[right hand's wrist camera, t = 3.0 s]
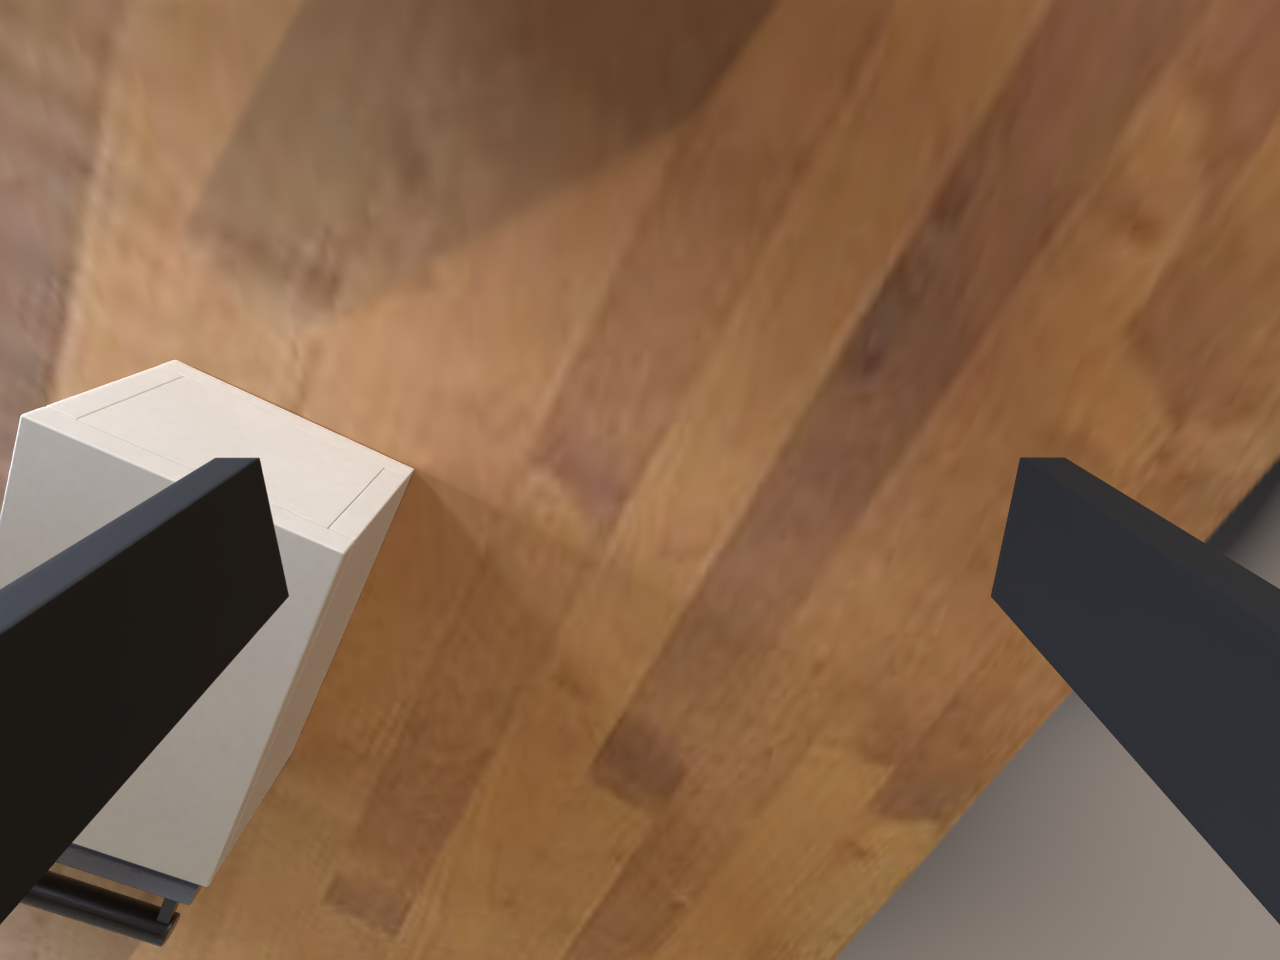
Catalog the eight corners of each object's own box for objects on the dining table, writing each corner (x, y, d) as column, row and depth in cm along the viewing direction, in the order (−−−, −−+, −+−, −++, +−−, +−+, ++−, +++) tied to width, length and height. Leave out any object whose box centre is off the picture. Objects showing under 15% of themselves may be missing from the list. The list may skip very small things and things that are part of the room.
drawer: (227, 870, 40) (159, 982, 35) (51, 811, 39) (-51, 918, 33) (361, 550, 33) (302, 626, 27) (149, 459, 31) (39, 519, 25)
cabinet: (293, 751, 38) (207, 888, 31) (87, 674, 36) (-58, 800, 29) (414, 468, 32) (344, 553, 25) (175, 358, 30) (19, 413, 23)
